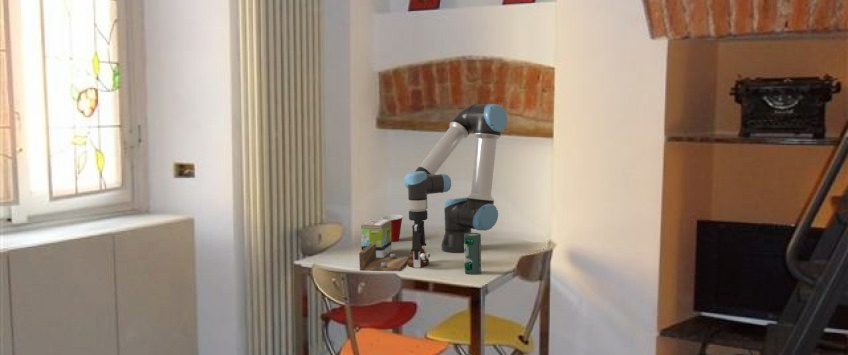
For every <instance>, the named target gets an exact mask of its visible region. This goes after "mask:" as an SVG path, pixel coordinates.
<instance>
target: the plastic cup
mask: <svg viewBox="0 0 848 355" xmlns="http://www.w3.org/2000/svg"><path fill="white" fill-rule="evenodd" d="M403 218H404V215H401V214H387V215H384V216H381V217H380V220H391V243H395V242H396V243H397V242H399V241H400V235H401V227H402V223H403V222H402V221H403Z"/></svg>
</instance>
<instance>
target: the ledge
mask: <svg viewBox="0 0 848 355" xmlns="http://www.w3.org/2000/svg"><path fill="white" fill-rule="evenodd" d="M358 255H359V271H362V272H364V271H365V272H366V271H370V272H371V271H375V272H376V271H377V272H378V271H379V272H380V271H381V272H382V271H383V272H394V271H395V272H400V271H401V270H402V268H404V266H405V265H406V264H407V261H408V257H397V256H396V253H389V257H383V258H376V244H374V243H371V244H370V245H369V246H367V247H366V248H365V249H364V250H362V251H361V250H360V252H359V254H358Z"/></svg>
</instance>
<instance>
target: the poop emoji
mask: <svg viewBox="0 0 848 355" xmlns="http://www.w3.org/2000/svg"><path fill="white" fill-rule="evenodd" d="M430 256H431V254H430V252H429V251H424V249H423V248H422V246H421V244H420V265H421V267H420V268H422V267H425V266H426V265H429V263H430V260H429V258H430ZM407 258H408V261H407V263H406V264H407V266H408V267H410V268H414V265H413V252H411V251H410V253H409V255H408V257H407Z"/></svg>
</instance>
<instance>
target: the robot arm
mask: <svg viewBox="0 0 848 355" xmlns="http://www.w3.org/2000/svg"><path fill="white" fill-rule="evenodd" d="M508 122H509V120H508V113H507V111H506V110H505V109H504V107H503V106H501V105H500V104H496V103H495V104H494V103H480V104H479V103H476V104H475V103H473V104H471V105H468V106H466V107H465V108H463V109H462V110H461V111H460V112H459V113H458V114H456V115H455V117H454V118H453V119H452V120H451V121H450V123H449V125H448V126H449V127H448V129H447V130H446V131H445V133H444V134H443V136H441V138H440V139H439V140H438V141H437V143H436V144H435V145H434V147H433V148H432V149H431V150H430V151H429V153H428V155H426V157H425V158H424V159H423V161H422V162H421V163H420V164H419V166H418V167H417V168H416V169H415V171H411V172H408V173H407V174H406V175H405V177H404V179H403V180H404V181H403V182H404V186H405V187H406V189H407V192H408V195H407V196H408V197H407V198H408V201H407V203H406V204H407V205H408V220H409V221H413V224H412V225H411V226H412V227H411V228H412V236H411V237H412V239H411V240H412V242H411V250H410V252H413V265H414V267H413V268H414V269H417V268H419V269H421V268H422V267H421V265H420V244H421V246H422V248H423V249H424V251H425V246H427V243H426V236H425V232H426V231H425V221H427V220H428V210H427V209H428V195H431V194H443V193H447V192H449V191H450V190H451V188H452V180H451V177H450V176H449V175H448V174H446V173H444V174H443V173H440V174H436V173H437V172H438V171H439V170H440V169H441V167H442V166H443V164H444V163H445V162H446V161H447V160H448V158H449V157H450V155H451V154H452V153H453V152H454V150H455V149H456V148H457V147H458V145H459V144H460V143H461V142H462V140H463V139H466V138H468V136H469V135H470V134H472V133H473V135H474V137H475V138H476V141H475V143H476V144H475V150H474V161H473V172H472V182H471V192H470V194H469V195H468V196H467V197H457V198H447V199H446V200H445V201H444V208H443V209H444V235H443V238H442V241H441V251H443V252H447V253H465V252H464V234H466V233H472V230H476V231H488V230H491V229H492V228H493V227H494V226H495V225H496V224H497V221H498V219H499V210H498V208H497V206H496V205H494V204H495V200H494V198H493V197H492V189H493V178H494V169H495V161H496V160H495V158H496V149H497V147H496V146H497V141H498V140H499V139H500V138H501V134H502V132H503V131H504V130H505V129H506V128H507V126H508ZM425 252H426V251H425Z"/></svg>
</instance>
